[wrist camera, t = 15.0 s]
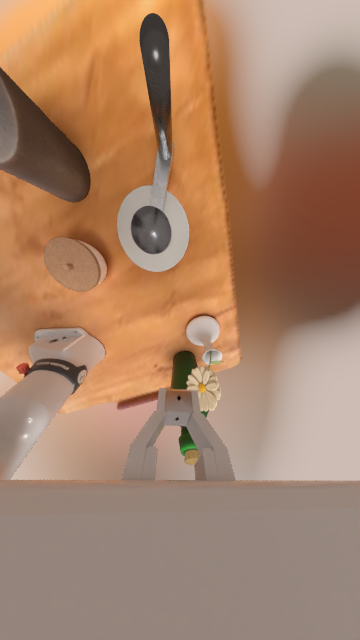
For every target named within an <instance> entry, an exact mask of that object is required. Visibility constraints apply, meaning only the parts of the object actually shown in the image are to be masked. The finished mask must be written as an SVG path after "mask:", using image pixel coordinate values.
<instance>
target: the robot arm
mask: <svg viewBox="0 0 360 640" xmlns="http://www.w3.org/2000/svg"><path fill="white" fill-rule="evenodd" d="M34 339H35V342H33V343H32V344H31V345H30V347H29V356H30V359H31V361H32V364H33V366H32V367H31V369H30V368H29V365H28V363H23V364H20V365H18V367H16V369H17V370H18V371H19V373H20V374H24V375H25V376H24V378H23V379H22V380H21V381H20V382H18V383H17V384H16V385H15V386H14V387H12V388H11V389H10V390H9V391H7V392H6V393H5V394H4V395H2V396H1V397H0V640H360V481H235V477H234V473H233V469H232V465H231V462H230V458H229V454H228V450H227V448H226V446H225V445H224V443H223V442H222V440H221V439H220V437H219V436H218V435H217V433H216V432H215V431H214V429H213V427H212V426H211V425H210V423H209V422H208V420H207V419H206V417H205V416H204V414H201V410H200V404H199V398H198V392H197V391H196V390H184V389H168V388H159V395H158V403H157V411H154V413H153V414H152V416H151V417H150V418H149V420H148V421H147V422H146V424H145V425H144V427H143V428H142V429H141V431H140V432H139V434H138V435H137V436H136V438H135V439H134V441H133V442H132V444H131V445H130V449H129V453H128V457H127V462H126V465H125V470H124V474H123V478H122V480H10V479H11V477H12V476H13V475H14V473H15V472H16V470H17V469H18V468H19V466H20V465H21V463H22V461H23V460H24V459H25V458H26V456H27V455H28V453H29V452H30V450H31V449H32V448H33V446H34V445H35V443H36V442H37V440H38V439H39V437H40V436H41V435H42V433H43V432H44V430H45V429H46V427H47V426H48V425H49V423H50V422H51V420H52V419H53V418H54V417H55V415H56V414H57V413H58V411H59V410H60V409H61V407H62V406H63V405H64V403H65V402H66V401H67V399H68V398H69V397H70V395H72V394H73V393H74V392H75V391H76V390H77V389H78V387H79V386H80V385H81V383H82V382H83V380H84V379H85V377H86V376H87V374H88V373H89V372H90V371H91V370H92V369H93V368H94V367H95V366H96V365H97V364H98V363H99V362H101V361H102V360H103V359H104V357H105V349H104V347H103V345H102V344H101V343H100V342H99V341H98V340H97V339H96V338H94V337H92V336H90V335H89V334H88V333H87V332H86V331H85V330H84V329H83V328H80V327H76V328H54V329H38V330H37V331H36V332H35V335H34ZM164 425H173V426H187V429H188V431H189V433H190V435H191V437H192V439H193V441H194V443H195V445H196V447H197V449H198V451H199V454H200V456H199V458H198V460H197V462H196V463H195V465H194V467H195V480H192V481H191V480H155V474H156V461H157V451H158V450H157V448H156V447H153V445H154V444H155V442H156V440H157V438H158V436H159V434H160V433H161V431H162V429H163V427H164Z"/></svg>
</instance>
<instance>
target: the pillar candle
mask: <svg viewBox="0 0 360 640" xmlns="http://www.w3.org/2000/svg"><path fill="white" fill-rule="evenodd" d="M0 169H1V170H4V171H5V172H7V173H10V174H12V175H14V176H16V177H17V178H19V179H22V180H24V181H26V182H28V183H30V184H32V185H34V186H37V187H39V188H40V189H43V190H45V191H47V192H49V193H51V194H53V195H55V196H57V197H59V198H61V199H64V200H66V201H69V202H78V201H81V200H83V199H84V198H85V196H86V195H87V193H88V190H89V186H90V174H89V170H88V167H87V164H86V162H85V159H84V157H83V156H82V154H81V152H80V151H79V149H78V148H77V147H76V146H75V145H74V144H73V143H72V142H70V141H69V139H68V138H67V137H66V136H65V134H63V132H61V131H60V129H58V128H57V127H56V126H55V125H54V123H52V122H51V121H50V119H49V118H48V117H47V116H46V115H45V114H44V113H43V112H42V111H41V109H40V108H39V107H38V106H37V105H36V104H35V103H34V102H33V101H32V100H31V99H30V98H29V97H28V96H27V95H26V94H25V93H24V92H23V91H22V90H21V89H20V88H19V87H18V86H17V84H16V83H15V82H14V81H13V80H12V79H11V78H10V77H9V76H8V75H7V74H6V73H5V72H4V71H3V70H2V69H1V68H0Z"/></svg>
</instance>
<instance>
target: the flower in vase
mask: <svg viewBox="0 0 360 640" xmlns="http://www.w3.org/2000/svg"><path fill="white" fill-rule="evenodd" d="M219 333H220V326H219V323H218V322H217V321H216V320H215V319H214V318H212V317H209V316H200V317H197V318H195V319H193V320H192V321H191V322H190V323H189V324H188V326H187V328H186V336H187V338H188V339H189V340H190V341H191V342H192V343H193V344H195V345H199V346H204V349H205V352H204V354H203V356H202V360H203V362H204V363H206V364H209V367H207V366H205V367H203V366H201V367H199V368H198V367H196V368H195V369H192V372H191V375H188V379H189V380H188V381H187V385H188V387H187V390H196V391H197V392H198V398H199V404H200V410H201V411H203V410H204V411H206V412H207V411H208V408H209V410H214V409H215V407H216V406H217V400H219V399H220V396H221V389H220V387H218V386H219V381H218V380H217V377H216V376H217V375H216V373H214V372H213V373H212V370H211V369H210V365H212V364H220V363H222V362H223V361H220V360H221V358H222V353H221V352H220V351H219V350H216V349H214V347H213V346H212V344H211V343H212V342H214V341H215V340H216V339H217V338H218V336H219ZM216 399H217V400H216Z"/></svg>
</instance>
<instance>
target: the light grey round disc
mask: <svg viewBox="0 0 360 640" xmlns="http://www.w3.org/2000/svg"><path fill="white" fill-rule="evenodd" d="M152 186H153V185H146V186H141V187H139V188H136V189H135V190H133V191H132V192H130V193H129V194H128V195H127V196H126V198H125V199H124V201H123V202H122V204H121V207H120V209H119V213H118V218H117V230H118V236H119V240H120V243H121V245H122V248H123V250H124V251H125V253H126V254H127V256H128V257H129V258H130V259H131V260H132V261H133V262H134V263H135V264H136V265H138V266H139V267H141V268H143V269H145V270H148V271H152V272H161V271H166V270H168V269H170V268H172V267H174V266H175V265H176V264H177V263H178V262H179V261H180V260H181V259H182V257H183V256H184V254H185V252H186V249H187V246H188V242H189V223H188V219H187V216H186V213H185V211H184V209H183V207H182V205H181V204H180V202H179V201H178V200H177V198H176V197H175V196H174V195H173V194H171V193H170V192H169V191H167V194H166V199H165V205H164V210H163V213H164V214H165V215H166V217H167V218H168V220H169V223H170V226H171V232H172V237H171V242H170V244H169V246H168V248H167V249H166V250H165V251H164V252H162V253H159V254H149V253H146V252H144V251H142V250H141V249H140V248H139V247H138V246H137V245H136V243H135V242H134V240H133V237H132V234H131V221H132V218H133V216H134V214H135V213H136V211H137V210H138V209H140V208H141V207H144V206H150V201H151V193H152Z"/></svg>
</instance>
